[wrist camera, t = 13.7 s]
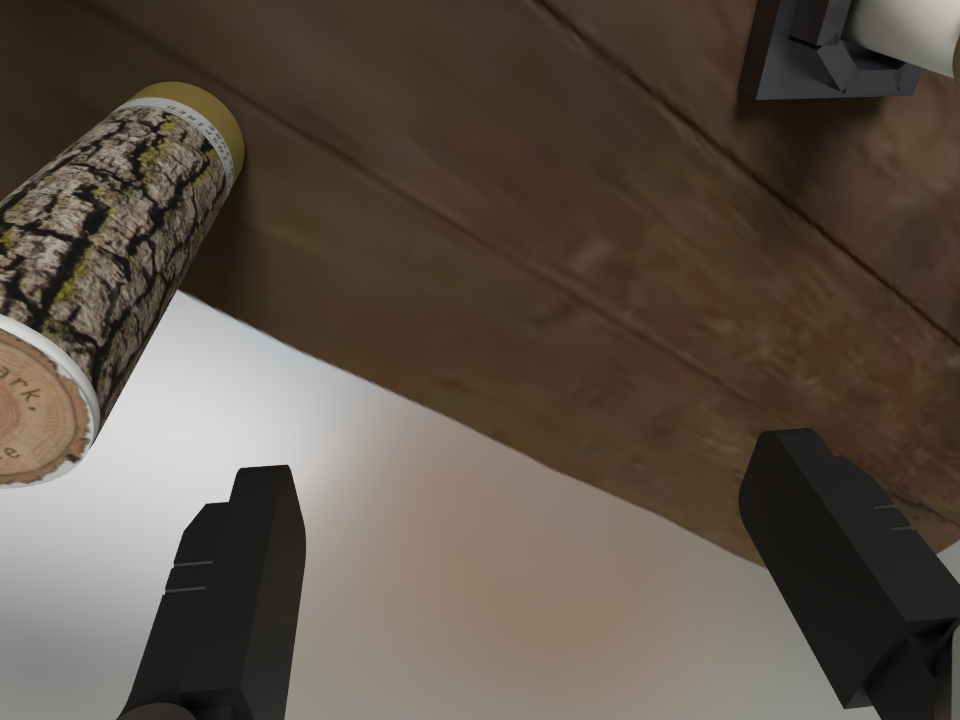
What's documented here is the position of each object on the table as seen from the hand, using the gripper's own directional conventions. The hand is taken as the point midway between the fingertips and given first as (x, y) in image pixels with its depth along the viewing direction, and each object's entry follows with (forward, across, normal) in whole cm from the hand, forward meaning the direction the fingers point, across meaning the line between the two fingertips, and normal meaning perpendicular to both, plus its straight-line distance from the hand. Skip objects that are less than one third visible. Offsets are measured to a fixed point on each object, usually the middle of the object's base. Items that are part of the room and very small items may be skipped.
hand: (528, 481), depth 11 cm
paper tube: (+33, +15, +4) cm, 37 cm away
